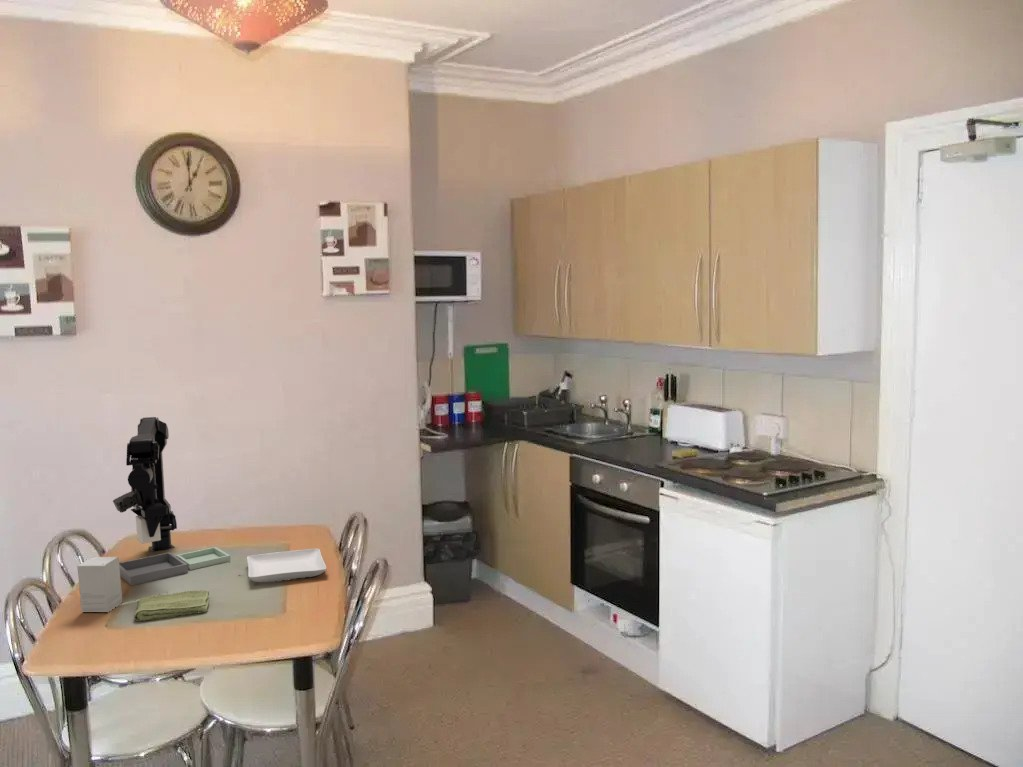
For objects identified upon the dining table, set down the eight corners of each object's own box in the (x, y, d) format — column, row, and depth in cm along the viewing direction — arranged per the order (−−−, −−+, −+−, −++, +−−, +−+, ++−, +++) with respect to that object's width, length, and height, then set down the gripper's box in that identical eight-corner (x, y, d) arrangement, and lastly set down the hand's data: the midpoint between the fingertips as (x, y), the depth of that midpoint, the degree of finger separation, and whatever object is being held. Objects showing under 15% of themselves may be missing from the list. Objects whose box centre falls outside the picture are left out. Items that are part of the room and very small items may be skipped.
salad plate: (319, 557, 260) (319, 546, 260) (327, 579, 240) (327, 567, 240) (246, 566, 254) (246, 554, 253) (249, 589, 234) (248, 577, 233)
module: (137, 539, 247) (135, 516, 246) (155, 536, 250) (153, 513, 249) (142, 543, 243) (140, 519, 242) (160, 540, 246) (159, 516, 245)
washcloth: (209, 614, 217) (208, 602, 216) (133, 625, 211) (132, 612, 211) (209, 597, 229) (208, 585, 229) (138, 606, 223) (137, 594, 223)
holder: (176, 562, 258) (176, 555, 258) (215, 553, 265) (215, 546, 265) (190, 571, 249) (189, 564, 248) (230, 562, 256) (230, 555, 256)
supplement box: (123, 602, 225) (120, 556, 223) (107, 613, 218) (103, 565, 216) (97, 602, 226) (93, 556, 224) (80, 613, 218) (76, 565, 217)
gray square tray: (115, 573, 249) (114, 563, 248) (170, 561, 258) (169, 552, 258) (131, 587, 237) (130, 576, 236) (188, 574, 246) (187, 564, 246)
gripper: (105, 481, 247) (110, 533, 248) (124, 492, 232) (128, 548, 234) (146, 475, 254) (149, 526, 255) (166, 485, 239) (170, 539, 241)
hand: (148, 534), depth 246 cm, fingers closed on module, 5 cm apart
